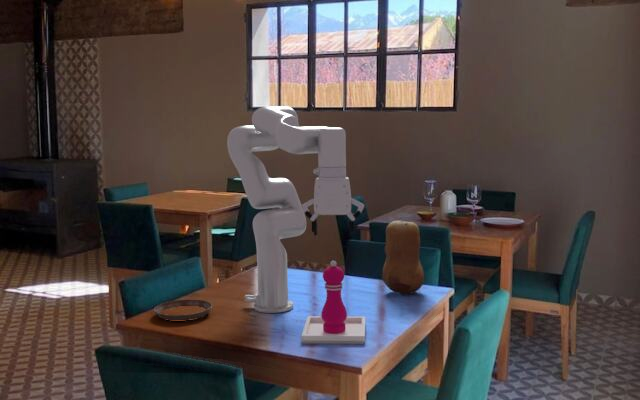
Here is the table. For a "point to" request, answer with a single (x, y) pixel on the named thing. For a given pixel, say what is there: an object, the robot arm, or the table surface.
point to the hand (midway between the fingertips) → (333, 234)
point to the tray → (351, 335)
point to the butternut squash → (402, 258)
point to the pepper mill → (333, 300)
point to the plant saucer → (187, 302)
